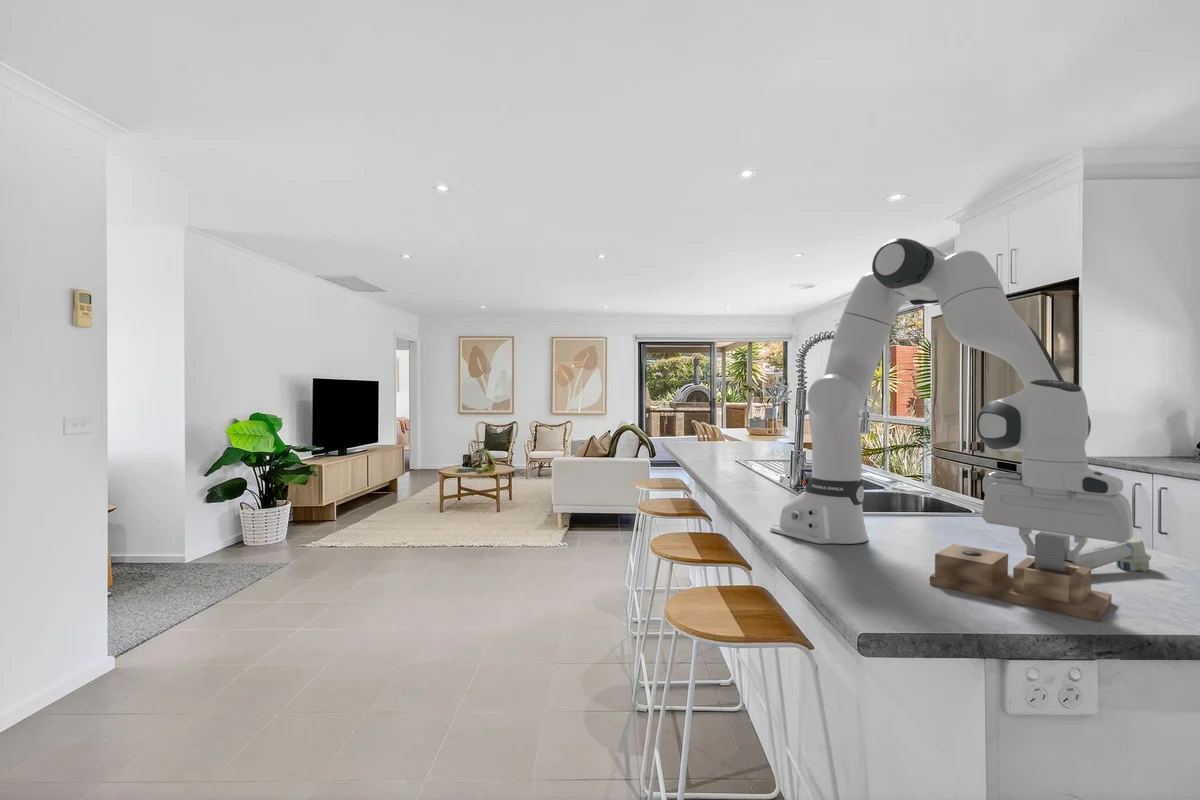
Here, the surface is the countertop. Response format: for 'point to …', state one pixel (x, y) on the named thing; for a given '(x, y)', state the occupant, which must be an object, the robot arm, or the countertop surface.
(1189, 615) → the countertop surface
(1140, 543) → the white handle
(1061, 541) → the grey rectangular block
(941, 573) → the holder
